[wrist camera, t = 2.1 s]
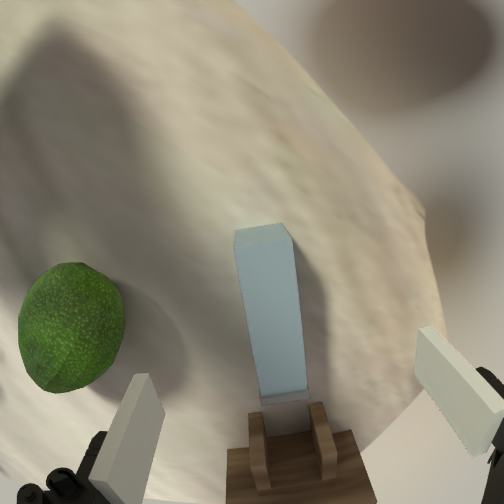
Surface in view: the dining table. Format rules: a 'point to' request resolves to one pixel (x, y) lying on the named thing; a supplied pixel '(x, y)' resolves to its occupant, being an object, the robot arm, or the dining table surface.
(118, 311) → the fruit
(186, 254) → the dining table surface
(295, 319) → the block
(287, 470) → the wooden card holder
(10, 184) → the dining table surface
